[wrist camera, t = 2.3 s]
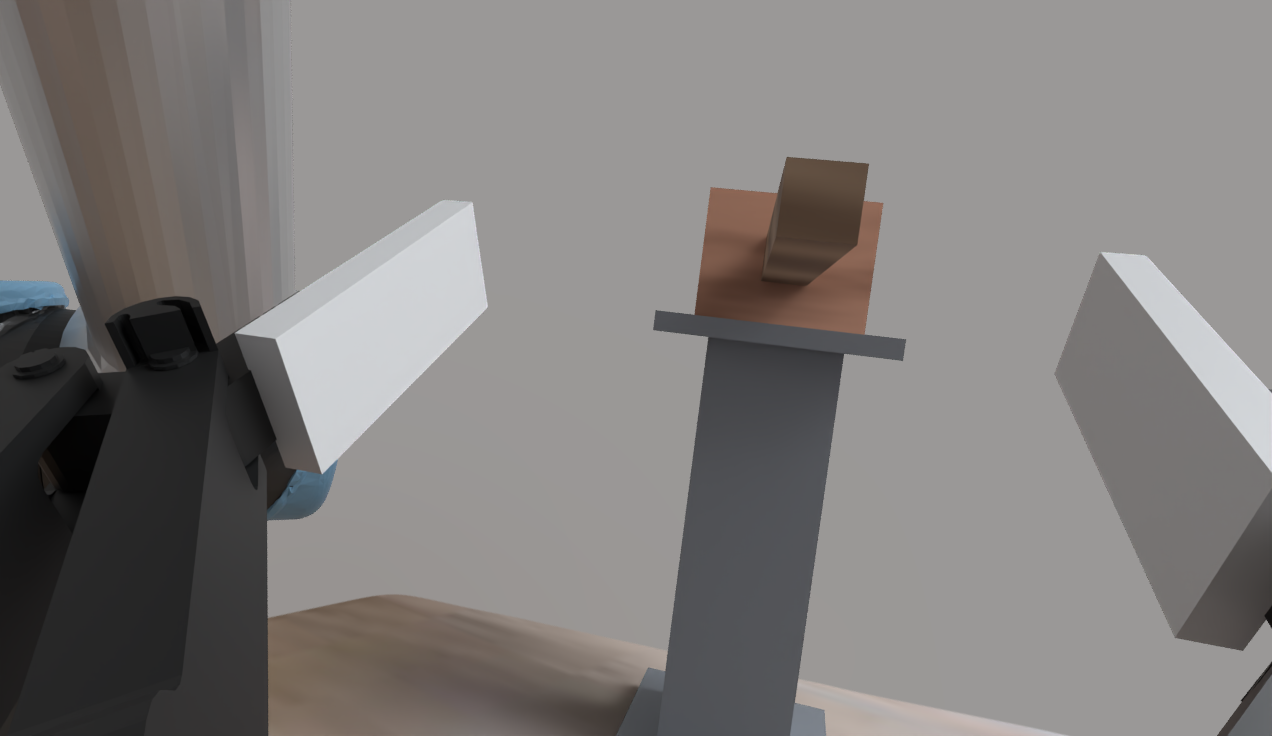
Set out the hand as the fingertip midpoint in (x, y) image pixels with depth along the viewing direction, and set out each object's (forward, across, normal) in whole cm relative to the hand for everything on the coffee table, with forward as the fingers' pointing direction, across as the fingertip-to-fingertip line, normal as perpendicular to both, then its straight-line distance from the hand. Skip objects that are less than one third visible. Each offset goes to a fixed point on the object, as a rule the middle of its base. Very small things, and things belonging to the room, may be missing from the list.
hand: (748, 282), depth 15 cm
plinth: (+8, 0, -35) cm, 36 cm away
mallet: (+15, 0, -9) cm, 18 cm away
